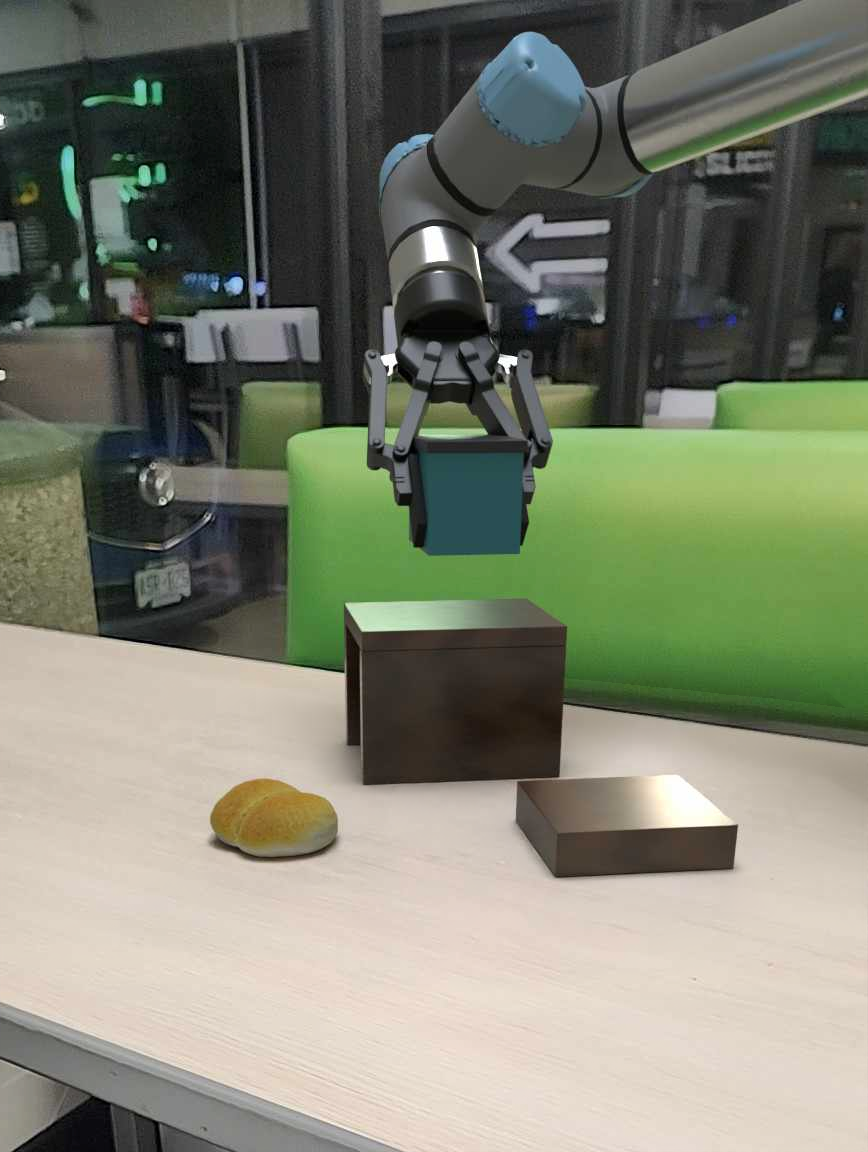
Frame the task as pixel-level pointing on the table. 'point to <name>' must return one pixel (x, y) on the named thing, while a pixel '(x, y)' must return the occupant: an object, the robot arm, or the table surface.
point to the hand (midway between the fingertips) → (470, 534)
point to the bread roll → (273, 819)
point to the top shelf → (454, 689)
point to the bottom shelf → (624, 825)
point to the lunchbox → (471, 493)
